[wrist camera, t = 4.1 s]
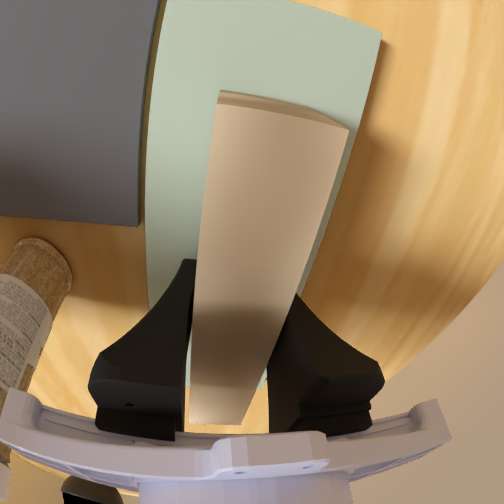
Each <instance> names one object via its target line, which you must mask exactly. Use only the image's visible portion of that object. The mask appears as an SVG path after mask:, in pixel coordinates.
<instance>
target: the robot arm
mask: <svg viewBox="0 0 504 504" xmlns="http://www.w3.org/2000/svg"><path fill="white" fill-rule="evenodd" d="M196 266H197V259H187V258H185V259H183V260H182V263H181V265H180V267H179V269H178V271H177V273H176V275H175V277H174V278H173V280H172V281H171V283H170V285H169V286H168V288H167V289H166V291H165V292H164V293H163V295H162V296H161V297H160V299H159V300H158V301H157V303H156V304H155V305H154V306H153V308H152V309H151V310H150V311H149V312H148V313H147V314H146V315H145V316H144V317H143V318H142V319H141V320H140V321H139V323H137V324H136V325H135V326H134V327H133V328H132V329H131V330H130V331H129V332H127V333H126V334H125V335H124V336H123V337H121V338H120V339H119V340H118V341H116V342H115V343H113V344H112V345H110V346H109V347H108V348H106V349H105V350H103V351H102V352H100V353H99V355H98V357H97V359H96V361H95V363H94V366H93V368H92V371H91V375H90V379H89V383H88V390H89V392H90V394H91V396H92V397H93V399H94V401H95V402H96V404H97V406H98V408H97V413H96V419H93V418H89V417H85V416H80V415H76V414H73V413H69V412H65V411H62V410H58V409H55V408H51V407H48V406H45V405H42V404H41V402H40V401H39V399H38V398H36V397H35V396H33V395H32V394H29V393H27V392H24V391H21V390H18V389H16V388H13V387H10V388H9V391H8V394H7V397H6V400H5V403H4V406H3V410H2V413H1V417H0V441H1V442H2V443H3V444H5V445H6V446H8V447H9V448H11V449H12V450H14V451H15V452H17V453H18V454H20V455H21V456H23V457H25V458H27V459H30V460H32V461H35V462H37V463H40V464H42V465H45V466H47V467H50V468H53V469H56V470H58V471H61V472H64V473H67V474H70V475H73V476H76V477H79V478H82V479H85V480H89V481H92V482H96V483H99V484H103V485H107V486H111V487H115V488H120V489H124V490H129V491H134V492H139V504H353V500H352V495H351V491H350V486H349V482H352V481H356V480H359V479H362V478H365V477H369V476H372V475H375V474H378V473H381V472H384V471H387V470H390V469H393V468H395V467H398V466H401V465H403V464H406V463H408V462H411V461H414V460H416V459H419V458H421V457H423V456H425V455H426V454H428V453H430V452H431V451H433V450H435V449H437V448H438V447H440V446H442V445H443V444H445V443H446V442H448V441H449V440H451V438H452V437H451V434H450V432H449V429H448V427H447V424H446V421H445V419H444V417H443V414H442V411H441V409H440V407H439V404H438V402H437V400H436V399H432V400H428V401H425V402H422V403H419V404H417V405H416V406H414V407H413V408H412V409H411V410H410V411H409V412H406V413H402V414H398V415H394V416H390V417H386V418H382V419H377V420H371V417H370V414H369V410H370V409H371V404H370V400H371V399H372V398H373V397H374V396H375V395H376V394H377V393H378V392H379V391H380V390H381V389H382V387H383V386H384V383H385V379H384V376H383V374H382V371H381V369H380V366H379V364H378V362H377V361H375V360H373V359H371V358H370V357H368V356H366V355H364V354H363V353H361V352H359V351H358V350H356V349H355V348H353V347H352V346H350V345H349V344H348V343H346V342H345V341H343V340H342V339H341V338H340V337H338V336H337V335H336V334H335V333H333V332H332V331H331V330H330V329H329V328H328V327H327V326H326V325H325V324H324V323H322V322H321V321H320V320H319V319H318V318H317V317H316V316H315V314H314V313H313V312H312V311H311V310H310V309H309V308H308V307H307V305H306V304H305V303H304V302H303V301H302V299H301V298H300V297H299V295H298V294H297V293H295V296H294V298H293V301H292V304H291V306H290V309H289V311H288V314H287V317H286V319H285V322H284V324H283V327H282V329H281V332H280V334H279V337H278V339H277V342H276V344H275V347H274V349H273V351H272V354H271V356H270V359H269V361H268V363H267V366H266V370H267V384H268V404H269V433H265V434H208V433H190V432H184V414H185V382H186V362H187V352H188V346H189V340H190V334H191V328H192V322H193V306H194V292H195V278H196Z"/></svg>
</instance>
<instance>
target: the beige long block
mask: <svg viewBox="0 0 504 504" xmlns="http://www.w3.org/2000/svg"><path fill="white" fill-rule="evenodd" d="M348 133H349V130H348V129H347V128H345V127H343V126H342V125H340V124H338V123H336V122H334V121H333V120H331V119H329V118H327V117H325V116H324V115H322V114H320V113H318V112H316V111H314V110H312V109H310V108H308V107H306V106H304V105H303V104H299V103H294V102H290V101H285V100H280V99H275V98H270V97H265V96H259V95H253V94H247V93H240V92H234V91H226V90H220V92H219V96H218V100H217V105H216V111H215V117H214V124H213V130H212V137H211V144H210V151H209V158H208V165H207V173H206V181H205V189H204V197H203V206H202V215H201V224H200V234H199V244H198V255H197V266H196V278H195V292H194V306H193V322H192V340H191V363H190V396H189V423H195V424H215V425H241V423H242V420H243V418H244V416H245V414H246V412H247V409H248V407H249V405H250V403H251V401H252V398H253V396H254V394H255V391H256V389H257V387H258V385H259V382H260V380H261V378H262V375H263V373H264V371H265V368H266V366H267V363H268V361H269V359H270V356H271V354H272V351H273V349H274V347H275V344H276V342H277V339H278V337H279V334H280V332H281V329H282V327H283V324H284V322H285V319H286V317H287V314H288V311H289V309H290V306H291V304H292V301H293V298H294V296H295V293H296V290H297V288H298V285H299V282H300V280H301V277H302V274H303V272H304V269H305V266H306V263H307V261H308V258H309V255H310V252H311V249H312V246H313V244H314V241H315V238H316V235H317V232H318V229H319V226H320V223H321V220H322V217H323V214H324V211H325V208H326V205H327V202H328V199H329V196H330V193H331V190H332V187H333V183H334V180H335V177H336V174H337V170H338V167H339V164H340V161H341V157H342V154H343V151H344V147H345V144H346V140H347V137H348Z"/></svg>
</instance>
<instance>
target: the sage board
mask: <svg viewBox="0 0 504 504" xmlns="http://www.w3.org/2000/svg"><path fill="white" fill-rule="evenodd" d="M381 37H382V32H380V31H378V30H375V29H373V28H371V27H368V26H366V25H363V24H361V23H358V22H356V21H353V20H350V19H348V18H345V17H342V16H339V15H336V14H333V13H330V12H327V11H324V10H321V9H318V8H314V7H311V6H307V5H304V4H300V3H296V2H292V1H288V0H167V4H166V8H165V13H164V18H163V23H162V28H161V33H160V39H159V44H158V50H157V57H156V63H155V70H154V78H153V85H152V94H151V103H150V113H149V125H148V138H147V154H146V178H145V245H146V270H147V286H148V300H149V311H150V310H151V309H152V308H153V306H154V305H155V304H156V303H157V301H158V300H159V299H160V297H161V296H162V295H163V293H164V292H165V291H166V289H167V288H168V286H169V285H170V283H171V281H172V280H173V278H174V277H175V275H176V273H177V271H178V269H179V267H180V265H181V263H182V260H183V259H185V258H187V259H197V255H198V244H199V234H200V224H201V215H202V206H203V197H204V189H205V181H206V173H207V165H208V158H209V151H210V144H211V137H212V130H213V124H214V117H215V111H216V105H217V100H218V96H219V92H220V90H226V91H234V92H240V93H247V94H253V95H259V96H265V97H270V98H275V99H280V100H285V101H290V102H294V103H299V104H303V105H304V106H306V107H308V108H310V109H312V110H314V111H316V112H318V113H320V114H322V115H324V116H325V117H327V118H329V119H331V120H333V121H334V122H336V123H338V124H340V125H342V126H343V127H345V128H347V129H348V130H349V133H348V137H347V140H346V144H345V147H344V151H343V154H342V157H341V161H340V164H339V167H338V170H337V174H336V177H335V180H334V183H333V187H332V190H331V193H330V196H329V199H328V202H327V205H326V208H325V211H324V214H323V217H322V220H321V223H320V226H319V229H318V232H317V235H316V238H315V241H314V244H313V246H312V249H311V252H310V255H309V258H308V261H307V263H306V266H305V269H304V272H303V274H302V277H301V280H300V282H299V285H298V288H297V290H296V293H297V294H298V295H299V297H301V294H302V292H303V289H304V287H305V284H306V282H307V279H308V276H309V274H310V271H311V269H312V266H313V263H314V261H315V258H316V255H317V252H318V250H319V247H320V244H321V242H322V239H323V236H324V233H325V230H326V228H327V225H328V222H329V219H330V216H331V213H332V210H333V207H334V204H335V201H336V198H337V195H338V192H339V189H340V186H341V183H342V180H343V177H344V174H345V171H346V168H347V164H348V161H349V158H350V155H351V151H352V148H353V145H354V141H355V138H356V135H357V131H358V128H359V124H360V121H361V117H362V113H363V110H364V106H365V102H366V99H367V95H368V91H369V87H370V83H371V79H372V75H373V71H374V67H375V63H376V59H377V55H378V50H379V46H380V41H381ZM191 340H192V328H191V334H190V340H189V346H188V352H187V362H186V382H185V387H190V363H191ZM266 377H267V370H266V368H265V371H264V373H263V375H262V378H261V380H260V382H259V385H258V387H257V389H256V390H261V388H262V386H263V384H264V381H265V379H266Z"/></svg>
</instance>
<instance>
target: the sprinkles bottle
mask: <svg viewBox="0 0 504 504" xmlns="http://www.w3.org/2000/svg"><path fill="white" fill-rule="evenodd" d="M71 286H72V274H71V270H70V268H69V266H68V264H67V262H66V260H65V259H64V257H63V256H62V255H61V254H60V253H59V252H58V251H57V250H56V249H55V248H54V247H53V246H52V245H50V244H49V243H48V242H46V241H44V240H42V239H39V238H30V237H29V238H24V239H22V240H20V241H19V242H18V243H17V244H16V245H15V247H14V249H13V251H12V254H11V255H10V256H9V258H8V259H7V260H6V262H5V263H4V264H3V266H2V267H1V269H0V417H1V413H2V410H3V406H4V403H5V400H6V397H7V394H8V391H9V388H10V387H13V388H16V389H18V390H21V391H24V392H27V390H28V387H29V385H30V382H31V378H32V375H33V373H34V371H35V369H36V367H37V364H38V361H39V358H40V356H41V353H42V351H43V348H44V346H45V343H46V341H47V338H48V336H49V334H50V331H51V329H52V323H53V321H54V319H55V316H56V314H57V312H58V310H59V308H60V306H61V304H62V302H63V300H64V298H65V297H66V295H67V294H68V293H69V291H70V289H71ZM10 453H11V448H9V447H8V446H6V445H5V444H3V443H2V442H1V441H0V501H5V500H7V498H8V490H9V484H10V477H11V469H10V468H9V466H8V465H7V463H10Z"/></svg>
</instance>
